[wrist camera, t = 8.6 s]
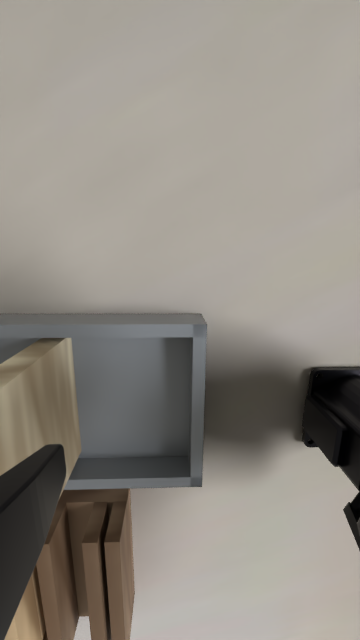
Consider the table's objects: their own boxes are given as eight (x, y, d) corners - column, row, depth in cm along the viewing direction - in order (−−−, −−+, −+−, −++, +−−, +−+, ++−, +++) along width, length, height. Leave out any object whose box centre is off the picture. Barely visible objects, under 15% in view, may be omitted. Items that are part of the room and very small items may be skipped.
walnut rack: (129, 484, 22) (119, 541, 17) (134, 593, 25) (126, 665, 20) (-21, 488, 21) (-70, 547, 17) (1, 598, 24) (-37, 673, 20)
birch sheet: (70, 334, 18) (-50, 427, 8) (81, 450, 20) (-5, 637, 10) (47, 334, 18) (-102, 428, 8) (60, 450, 20) (-45, 639, 10)
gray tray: (201, 313, 19) (206, 324, 16) (197, 455, 21) (201, 486, 19) (-79, 313, 18) (-127, 325, 15) (-47, 460, 21) (-82, 493, 18)
